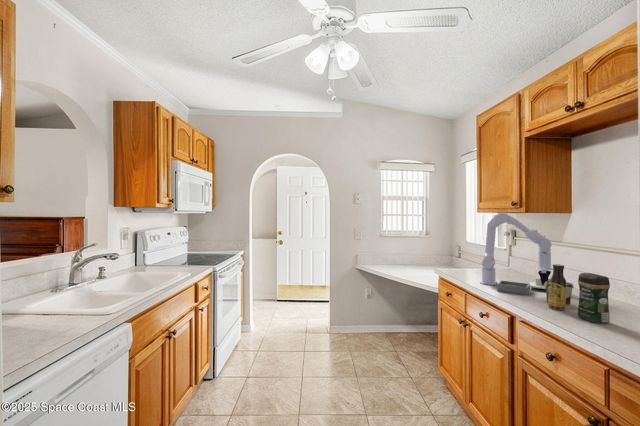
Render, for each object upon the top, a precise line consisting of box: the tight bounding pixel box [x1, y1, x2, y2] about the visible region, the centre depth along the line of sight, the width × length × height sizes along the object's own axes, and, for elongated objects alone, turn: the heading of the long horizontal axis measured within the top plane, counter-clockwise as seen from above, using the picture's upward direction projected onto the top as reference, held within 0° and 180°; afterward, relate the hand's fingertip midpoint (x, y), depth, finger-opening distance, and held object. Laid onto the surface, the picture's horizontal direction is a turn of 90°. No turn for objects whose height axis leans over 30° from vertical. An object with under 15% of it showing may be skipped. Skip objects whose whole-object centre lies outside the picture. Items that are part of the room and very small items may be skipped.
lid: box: [528, 277, 551, 290], centre depth 181 cm, size 13×15×4 cm
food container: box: [544, 281, 575, 306], centre depth 155 cm, size 12×6×10 cm, turn 84°
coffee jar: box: [577, 272, 611, 325], centre depth 129 cm, size 10×8×19 cm
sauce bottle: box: [547, 263, 567, 311], centre depth 145 cm, size 7×6×20 cm
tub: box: [496, 280, 531, 296], centre depth 177 cm, size 12×14×4 cm
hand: (544, 284), depth 181 cm, fingers closed on lid, 4 cm apart
